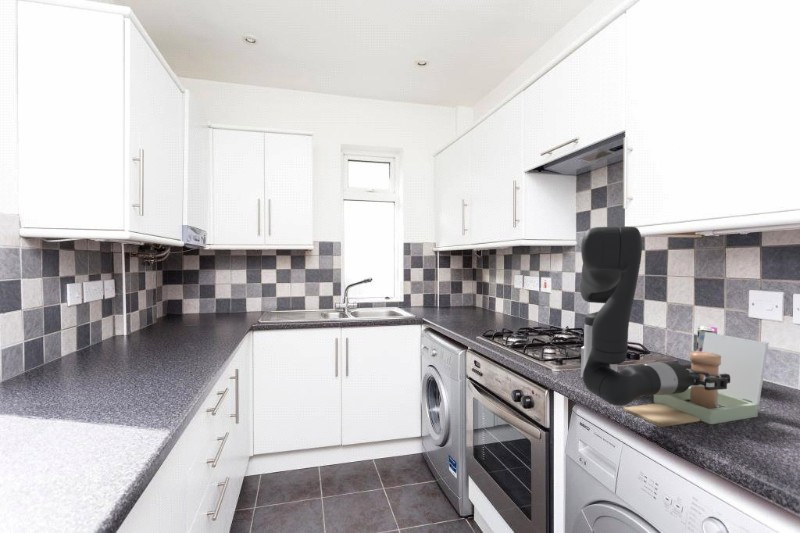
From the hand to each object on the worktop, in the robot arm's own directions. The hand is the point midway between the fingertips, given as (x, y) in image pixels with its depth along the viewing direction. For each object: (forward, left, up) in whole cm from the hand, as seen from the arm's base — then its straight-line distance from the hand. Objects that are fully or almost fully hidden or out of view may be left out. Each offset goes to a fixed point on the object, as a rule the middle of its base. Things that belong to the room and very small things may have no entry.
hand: (709, 373), depth 97 cm
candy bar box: (-17, +24, -9) cm, 31 cm away
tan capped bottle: (0, -2, -9) cm, 9 cm away
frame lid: (0, +8, -6) cm, 10 cm away
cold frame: (0, -2, -9) cm, 9 cm away
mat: (0, -16, -9) cm, 19 cm away
